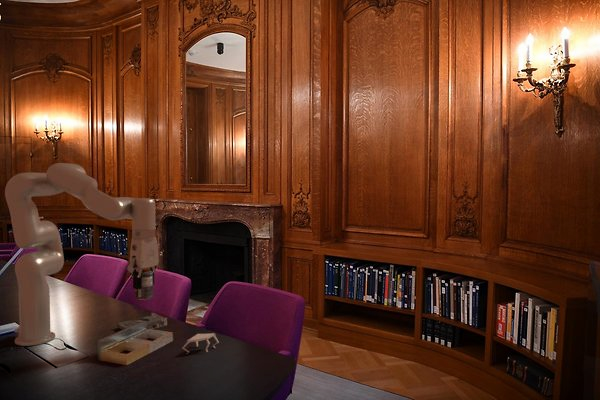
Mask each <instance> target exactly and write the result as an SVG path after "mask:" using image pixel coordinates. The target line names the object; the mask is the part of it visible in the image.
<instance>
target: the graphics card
mask: <svg viewBox="0 0 600 400" xmlns="http://www.w3.org/2000/svg"><path fill="white" fill-rule="evenodd" d="M143 321H147V330H148V329H152V330H155V329H159V328H162V327H165V326H167V325H168V317H164V316H162V315H159V314H156V313H155V312H151V315H148V316H145V317H140V318H134V319H132V320H126V321H122V322H118V323H116V327H117V328H119V329H120V330H121V331H122V330H124V329H126V328H129V327H131V326H134V325H136V324H138V323H141V322H143Z"/></svg>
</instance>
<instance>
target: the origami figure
mask: <svg viewBox="0 0 600 400" xmlns="http://www.w3.org/2000/svg"><path fill="white" fill-rule="evenodd" d="M212 337H213V338H214V340H215V341H216V343H214V344H212V347H213V348H214V349H216V346H215V345H217V344H219V343H220V341H219V340H218V338H217V335H216V333H214V332H213V333H197V334H195V335H194V336H192V337H191V338H189V339H187V340H186V343H185V344H184V345H183V346H182V347H181V349H182V350H184V352H187V353H186V355H187V354H189V353H190V350H187V349H186V348H185V347H186V346H187V345H188V344H190V343H194V342H195V346H196V348H198V347H199V342H201V341H205V340H206V344H207V345H206V348H205V352H206V353H208V352H209V351H208V348H209V346H210V344H211V342H210V341H209V339H211V338H212ZM187 347H188V346H187Z"/></svg>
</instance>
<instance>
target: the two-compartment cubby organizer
mask: <svg viewBox="0 0 600 400" xmlns="http://www.w3.org/2000/svg"><path fill="white" fill-rule="evenodd" d="M148 339H150V340H148ZM151 339H153V340H151ZM173 341H174V333H173V332H171V331H164V330H159V329H157V330H156V329H150V328H149V329H147V321H143V322H141V323H138V324H136V325H134V326H131V327H129V328H126V329H124V330H122V329H121V330H119V331H118V332H116V333H113V334H110V335H108V336H105V337H103V338H101V339H98V340H97V360H99V361H101V362H106V363H107V362H108V363H113V364H119V365H124V366H128V365H130V364H132V363H133V362H135V361H137V360H139V359H141V358H143V357H145V356H147V355H148V354H150V353H153V352H154V351H156V350H158V349H160V348H162V347H164V346H165V345H167V344H170V343H171V342H173ZM124 351H128V352H129V353H123V352H124Z"/></svg>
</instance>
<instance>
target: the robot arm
mask: <svg viewBox="0 0 600 400" xmlns="http://www.w3.org/2000/svg"><path fill="white" fill-rule="evenodd" d="M98 186H99V185H98V182H97V179H95V178H93V177H92V176H89V175H87V172H86V170H85V168H84V167H83V166H81V165H80V164H76V163H70V162H69V163H68V162H67V163H66V162H58V163H54V164H51V165H50V166H49V167H48V168H47V170H46V172H30V171H29V172H21V173H17V174H15V175H13V176H12V177H11V178H10V179H9V180H8V181H7V182H6V185H5V189H4V196H5V200H6V203H7V207H8V209H9V214H10V220H11V226H12V232H13V237H14V241H15V244H16V246H17V247H18V248H20V249H22V250H31V249H37V251H33V252H32V251H31V252H28V253H26V254H23V255H21V256H20V257H19V258H18V259H17V261H16V262H15V265H14V272H15V275H16V280H17V286H18V309H19V310H18V315H19V325H18V326H17V328H15V329H14V330H13V331H14V333H16V334H18V336H16V338H15V339H14V344H15V345H17V346H22V347H23V346H24V347H25V346H26V347H29V346H37V345H43V344H46V343H49V342H51V341H53V340H54V339H55V338H56V333H55V332H54V331H51V299H50V297H51V295H50V286H49V284H48V281H47V280H46V277H48V276H51V275H55V274H57V273H58V272H60V271H61V270H62V269H63V266H64V263H65V258H64V250H63V246H62V245H63V244H62V240H61V235H60V231H59V229H58V227H57V225H56V224H55V223H53V222H51V221H49V220H40V216H39V211H38V208H37V205H36V204H35V202H34V201H33V200H32V198H33V197H48V196H49V197H50V196H54V195H55V196H56V195H57V194H61V193H64V192H65V193H67V194H70V195H71V196H73V197H75V198H76V199H78V200H80V201H81V202H82V204H83V205H84V206H85V208H86V209H88V210H89V211H90V212H92V213H94V214H96V215H98V216H99V217H102V218H103V219H106V220H109V221H119V220H126V219H127V220H128V219H131V242H130V251H129V264H128V266H127V268H126V269H127V271H128V273H130V275H131V277H132V289H134V290H135V289H142V277H140V276H141V272H142V269H146V268H149V267H150V271H152V272H153V286H154V285H155V274H156V272H157V270H156V269H157V267H158V265H159V262H160V259H159V257H160V254H159V245H158V240H157V237H156V201H155V199H154V198H150V197H149V198H148V197H147V198H146V197H143V198H139V197H138V198H137V197H135V198H134V197H129V196H124V197H123V196H120V197H112V196H111V195H108V194H107V193H105V192H103V191H101V190H99V189H98ZM137 271H138V273H137Z"/></svg>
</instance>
